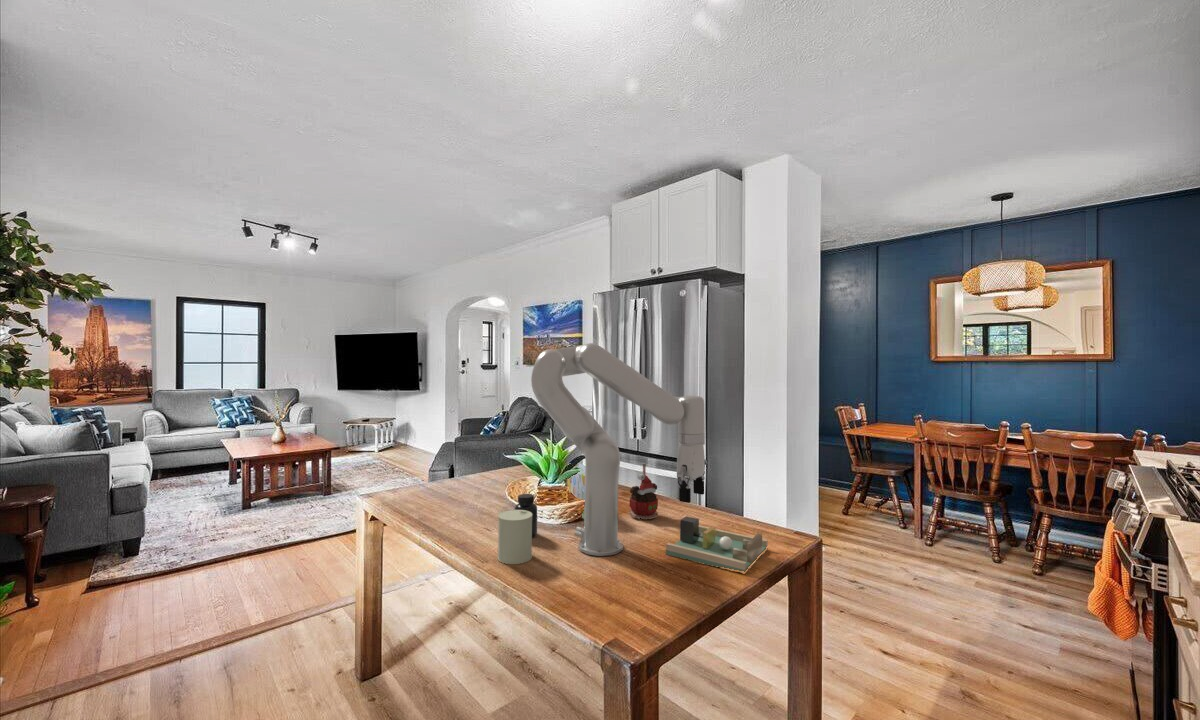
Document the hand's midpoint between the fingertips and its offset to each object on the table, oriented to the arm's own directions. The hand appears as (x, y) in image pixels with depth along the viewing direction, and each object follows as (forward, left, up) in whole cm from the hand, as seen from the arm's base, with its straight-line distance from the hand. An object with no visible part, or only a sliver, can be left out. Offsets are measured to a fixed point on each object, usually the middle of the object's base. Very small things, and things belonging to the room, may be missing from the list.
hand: (692, 497), depth 145 cm
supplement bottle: (-44, -22, -14) cm, 51 cm away
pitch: (+8, 0, -14) cm, 16 cm away
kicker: (+2, 0, -12) cm, 12 cm away
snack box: (-44, +7, -14) cm, 47 cm away
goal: (+17, 0, -13) cm, 21 cm away
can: (-35, -36, -14) cm, 52 cm away
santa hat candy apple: (-24, +15, -14) cm, 31 cm away
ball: (+10, 0, -11) cm, 15 cm away
